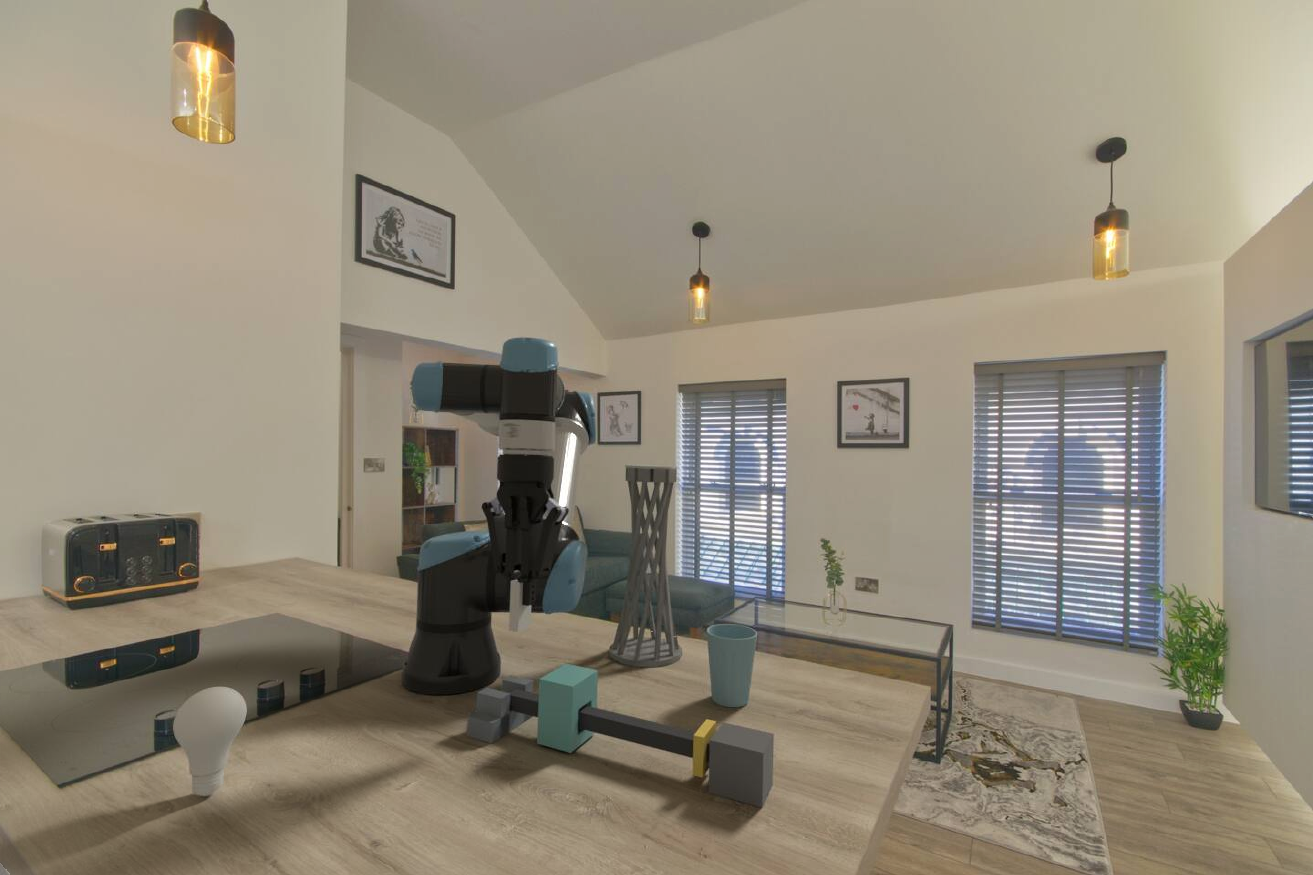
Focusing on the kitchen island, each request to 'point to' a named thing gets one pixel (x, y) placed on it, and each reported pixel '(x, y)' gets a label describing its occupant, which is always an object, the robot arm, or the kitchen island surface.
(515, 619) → the robot arm
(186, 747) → the lightbulb
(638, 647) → the grey lattice tower
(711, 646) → the cup
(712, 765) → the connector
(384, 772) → the kitchen island surface
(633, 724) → the dark grey long bar
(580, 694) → the sleeve
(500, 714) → the grey stepped brick
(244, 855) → the kitchen island surface
